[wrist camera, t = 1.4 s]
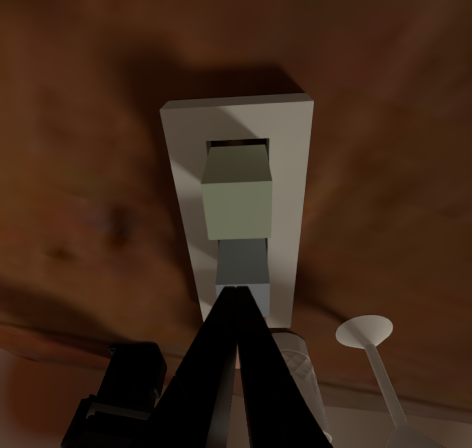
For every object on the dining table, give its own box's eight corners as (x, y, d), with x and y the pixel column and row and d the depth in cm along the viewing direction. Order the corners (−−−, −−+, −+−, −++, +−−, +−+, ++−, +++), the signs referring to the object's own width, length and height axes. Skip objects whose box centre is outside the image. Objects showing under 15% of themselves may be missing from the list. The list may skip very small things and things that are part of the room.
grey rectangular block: (223, 267, 23) (220, 318, 19) (220, 235, 21) (215, 284, 17) (264, 266, 23) (269, 317, 19) (264, 234, 21) (270, 283, 17)
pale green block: (215, 194, 19) (208, 239, 15) (210, 147, 17) (200, 183, 13) (264, 192, 19) (271, 237, 15) (265, 144, 17) (272, 181, 13)
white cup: (236, 345, 35) (235, 440, 27) (285, 320, 32) (300, 420, 24) (275, 368, 38) (284, 459, 30) (322, 347, 35) (347, 443, 27)
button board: (207, 309, 31) (205, 328, 29) (168, 100, 18) (159, 109, 16) (287, 307, 30) (290, 327, 28) (305, 93, 18) (313, 101, 15)
